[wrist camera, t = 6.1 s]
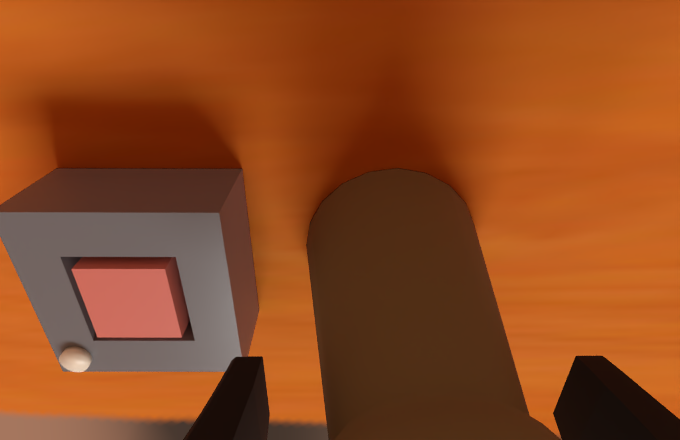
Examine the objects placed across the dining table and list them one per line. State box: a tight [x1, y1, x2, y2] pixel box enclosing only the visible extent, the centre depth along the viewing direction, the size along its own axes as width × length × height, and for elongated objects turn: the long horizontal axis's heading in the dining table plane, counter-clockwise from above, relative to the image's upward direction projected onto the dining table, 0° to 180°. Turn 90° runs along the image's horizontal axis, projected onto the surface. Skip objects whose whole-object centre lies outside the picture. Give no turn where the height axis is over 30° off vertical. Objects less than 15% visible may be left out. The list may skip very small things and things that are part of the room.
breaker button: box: [71, 257, 190, 338], centre depth 13 cm, size 3×3×2 cm
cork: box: [307, 168, 561, 440], centre depth 10 cm, size 6×6×11 cm
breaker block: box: [0, 168, 259, 372], centre depth 14 cm, size 6×6×3 cm
